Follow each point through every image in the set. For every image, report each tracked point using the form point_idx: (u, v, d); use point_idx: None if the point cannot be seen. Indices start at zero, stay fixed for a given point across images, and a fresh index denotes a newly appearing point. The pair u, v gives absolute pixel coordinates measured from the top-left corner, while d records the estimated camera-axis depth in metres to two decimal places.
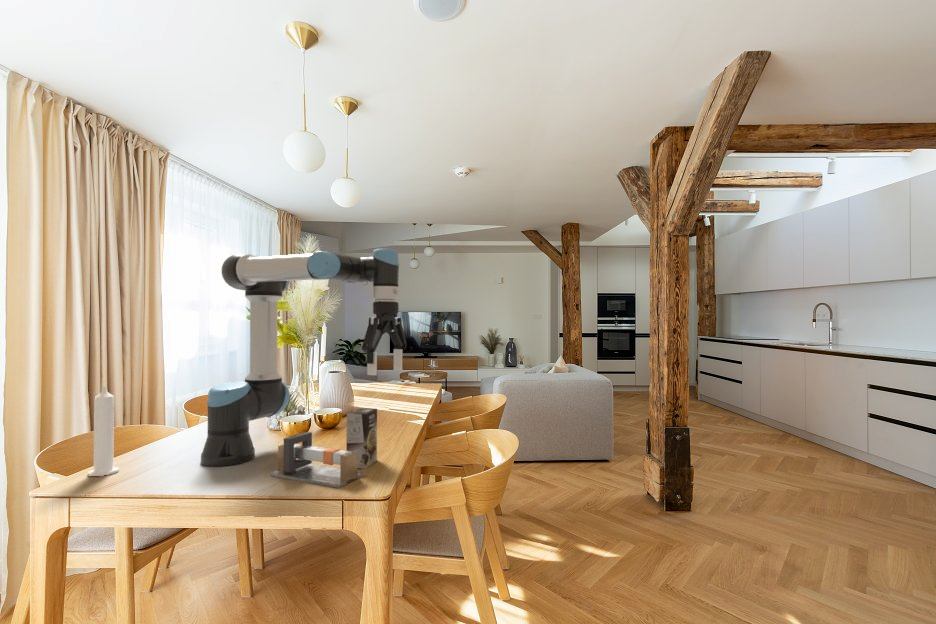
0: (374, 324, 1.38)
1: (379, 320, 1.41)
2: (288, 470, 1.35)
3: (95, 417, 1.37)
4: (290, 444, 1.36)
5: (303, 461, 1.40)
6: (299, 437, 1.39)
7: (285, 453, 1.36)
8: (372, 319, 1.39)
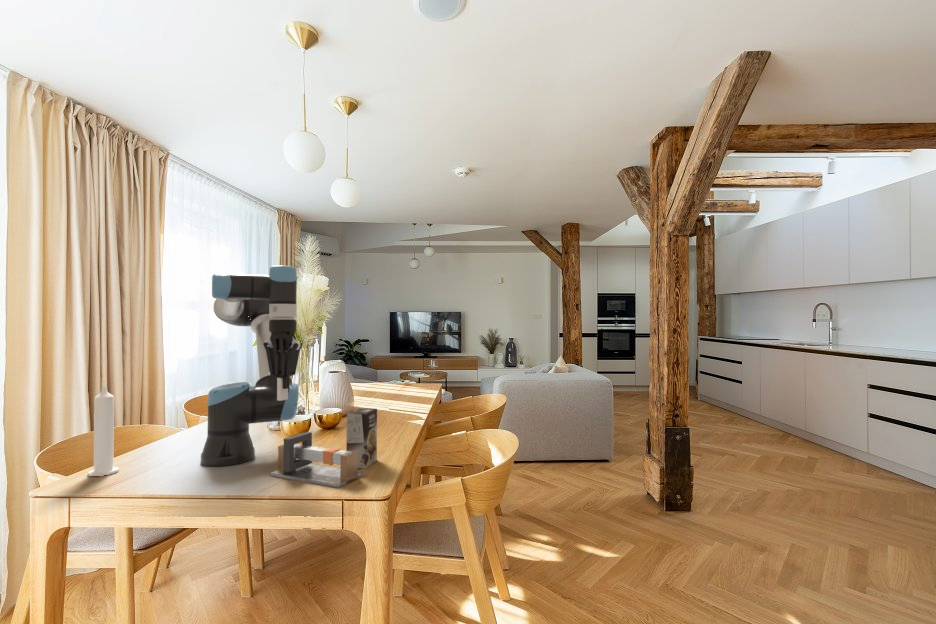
0: None
1: (270, 340, 1.43)
2: (288, 470, 1.35)
3: (95, 417, 1.37)
4: (290, 444, 1.36)
5: (303, 461, 1.40)
6: (299, 437, 1.39)
7: (285, 453, 1.36)
8: None
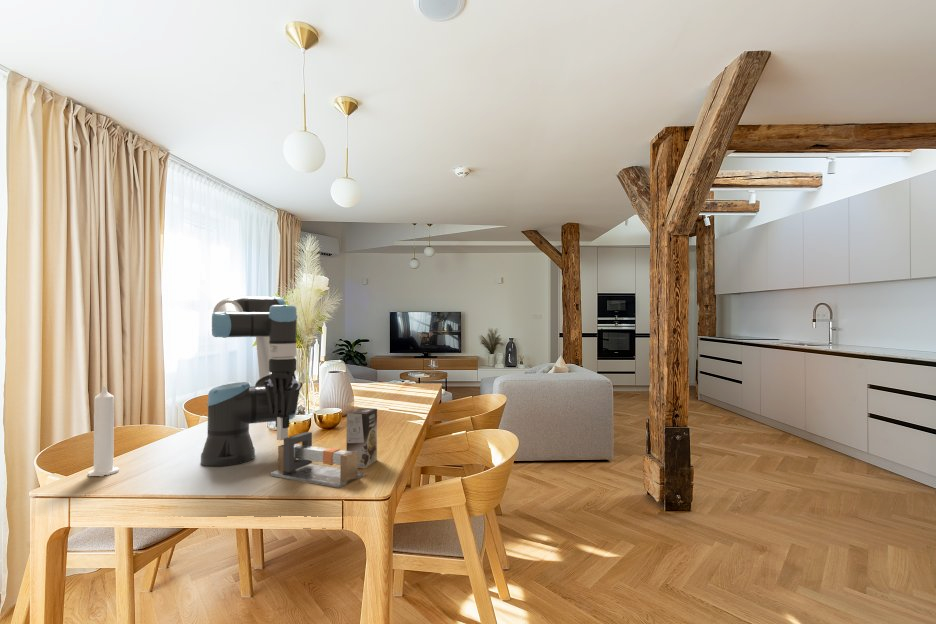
0: None
1: (270, 379, 1.43)
2: (288, 470, 1.35)
3: (95, 417, 1.37)
4: (290, 444, 1.36)
5: (303, 461, 1.40)
6: (299, 437, 1.39)
7: (285, 453, 1.36)
8: None
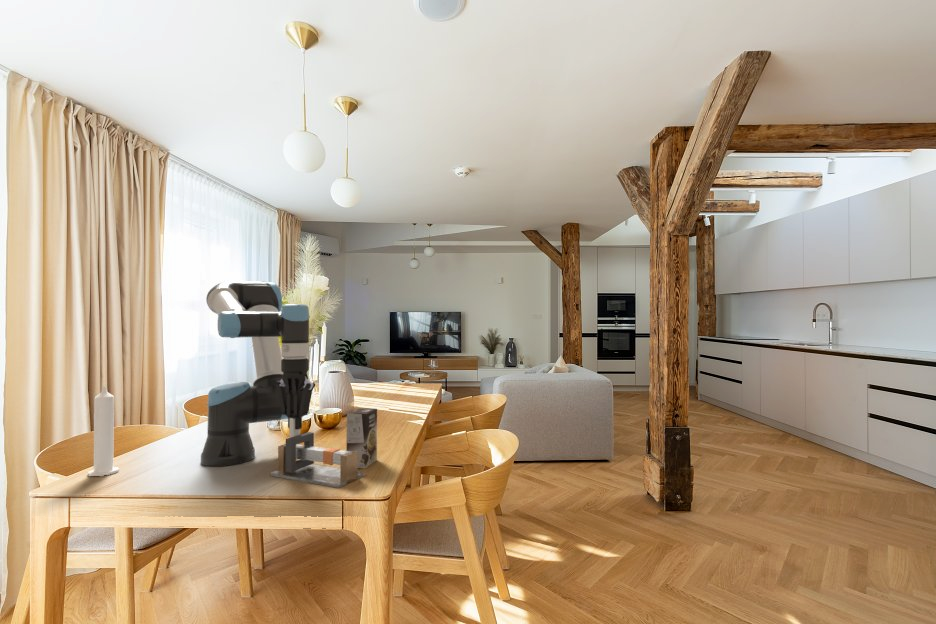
0: None
1: (282, 380, 1.41)
2: (290, 470, 1.35)
3: (95, 417, 1.37)
4: (292, 444, 1.35)
5: (305, 461, 1.40)
6: (301, 437, 1.39)
7: (287, 453, 1.35)
8: None
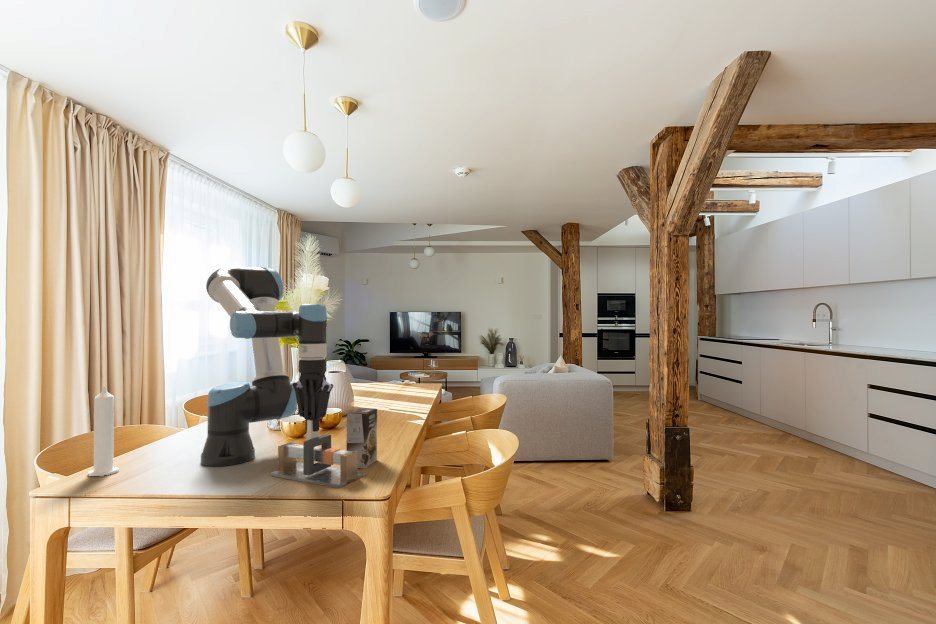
0: None
1: (300, 381, 1.39)
2: (308, 473, 1.32)
3: (95, 417, 1.37)
4: (310, 447, 1.33)
5: (323, 464, 1.37)
6: (319, 440, 1.36)
7: (305, 456, 1.33)
8: None
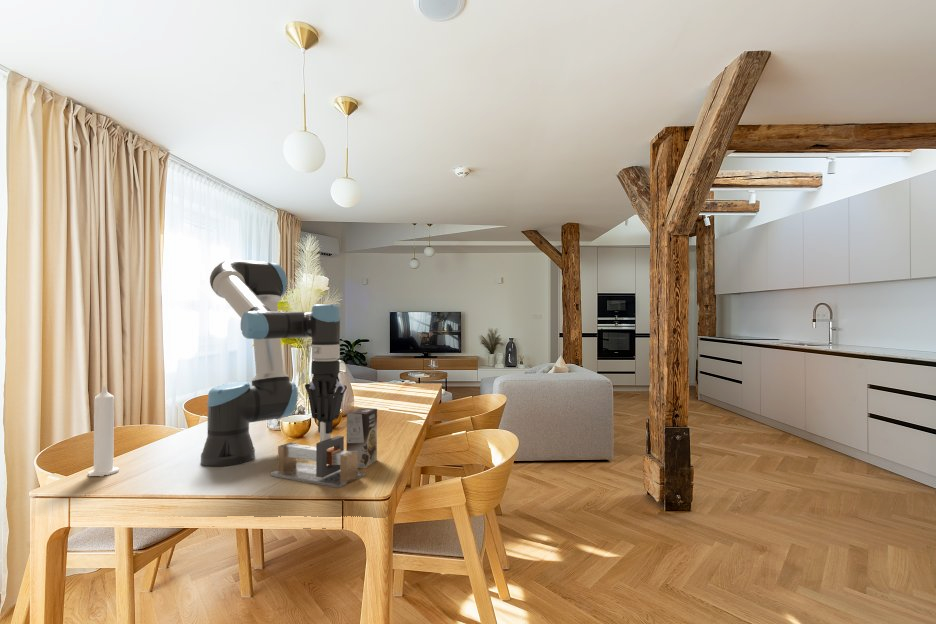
0: None
1: (312, 382, 1.37)
2: (321, 476, 1.31)
3: (95, 417, 1.37)
4: (323, 449, 1.31)
5: (335, 466, 1.36)
6: (332, 441, 1.34)
7: (318, 458, 1.31)
8: None
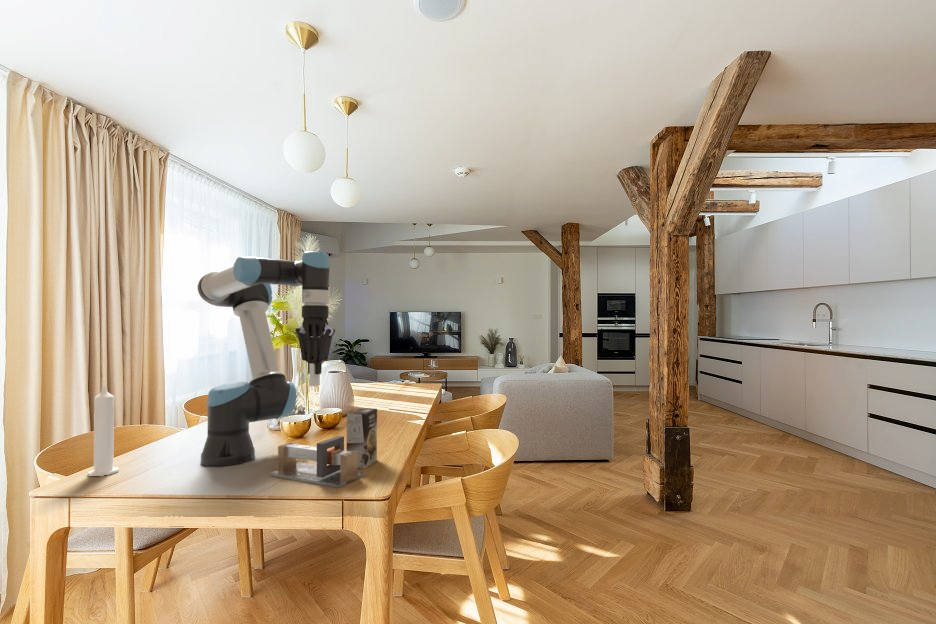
0: None
1: (302, 326, 1.44)
2: (321, 476, 1.31)
3: (95, 417, 1.37)
4: (323, 449, 1.31)
5: (336, 466, 1.36)
6: (332, 441, 1.34)
7: (318, 458, 1.31)
8: None
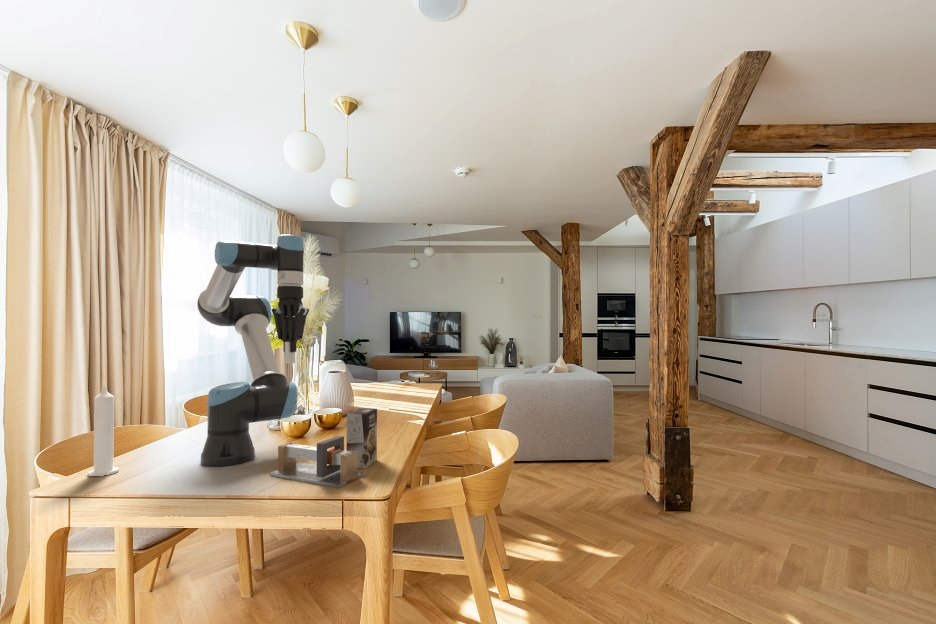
0: None
1: (278, 307, 1.50)
2: (321, 476, 1.31)
3: (95, 417, 1.37)
4: (323, 449, 1.31)
5: (336, 466, 1.36)
6: (332, 441, 1.34)
7: (318, 458, 1.31)
8: None
